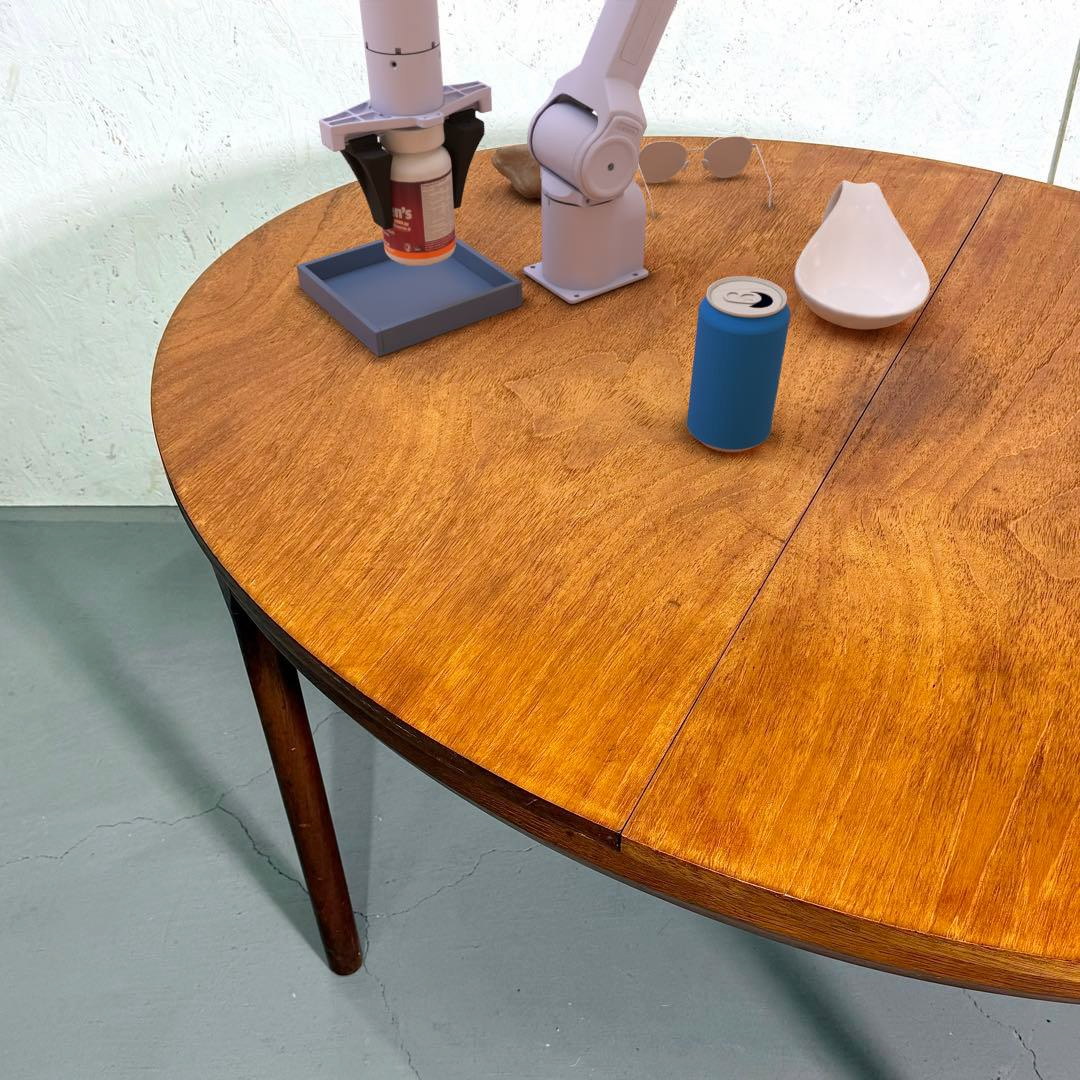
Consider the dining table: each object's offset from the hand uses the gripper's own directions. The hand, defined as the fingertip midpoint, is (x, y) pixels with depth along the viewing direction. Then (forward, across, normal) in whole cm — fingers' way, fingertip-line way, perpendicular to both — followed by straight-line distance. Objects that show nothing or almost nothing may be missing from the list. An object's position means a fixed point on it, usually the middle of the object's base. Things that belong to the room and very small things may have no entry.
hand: (417, 214), depth 89 cm
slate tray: (+10, +1, +5) cm, 11 cm away
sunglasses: (+10, +38, +5) cm, 40 cm away
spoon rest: (+10, +36, -18) cm, 42 cm away
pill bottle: (+4, 0, 0) cm, 4 cm away
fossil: (+10, +24, +16) cm, 31 cm away
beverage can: (+10, +10, -29) cm, 32 cm away
